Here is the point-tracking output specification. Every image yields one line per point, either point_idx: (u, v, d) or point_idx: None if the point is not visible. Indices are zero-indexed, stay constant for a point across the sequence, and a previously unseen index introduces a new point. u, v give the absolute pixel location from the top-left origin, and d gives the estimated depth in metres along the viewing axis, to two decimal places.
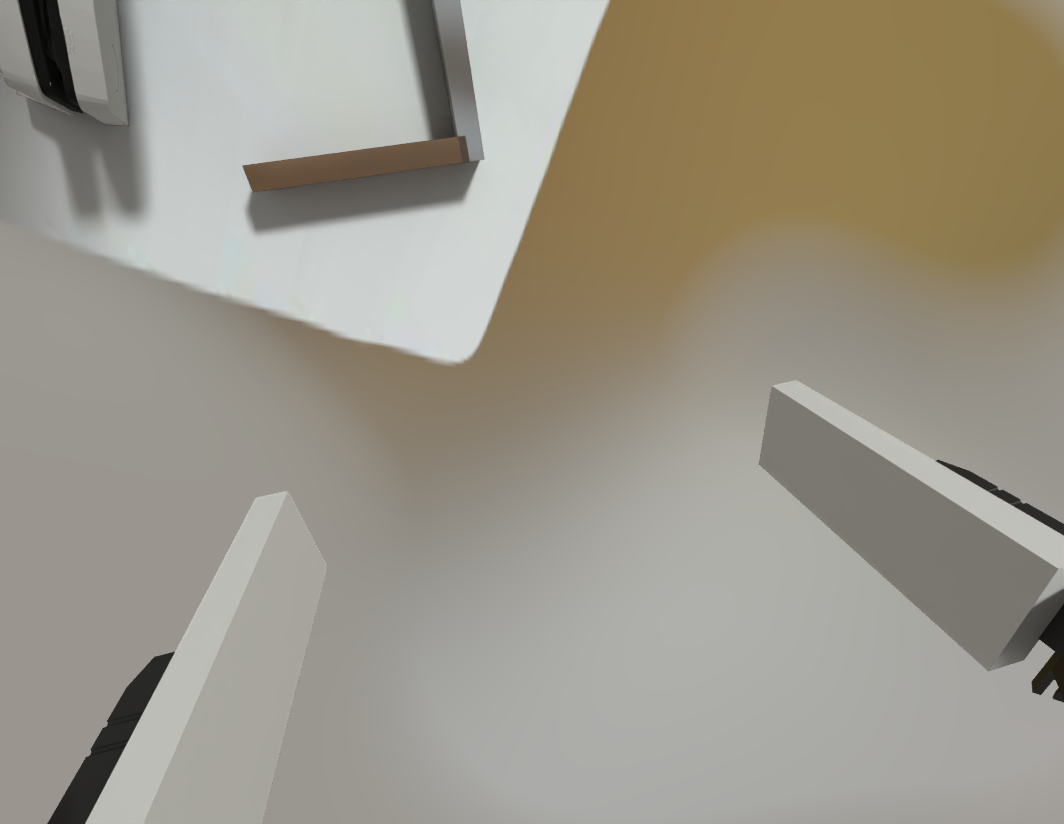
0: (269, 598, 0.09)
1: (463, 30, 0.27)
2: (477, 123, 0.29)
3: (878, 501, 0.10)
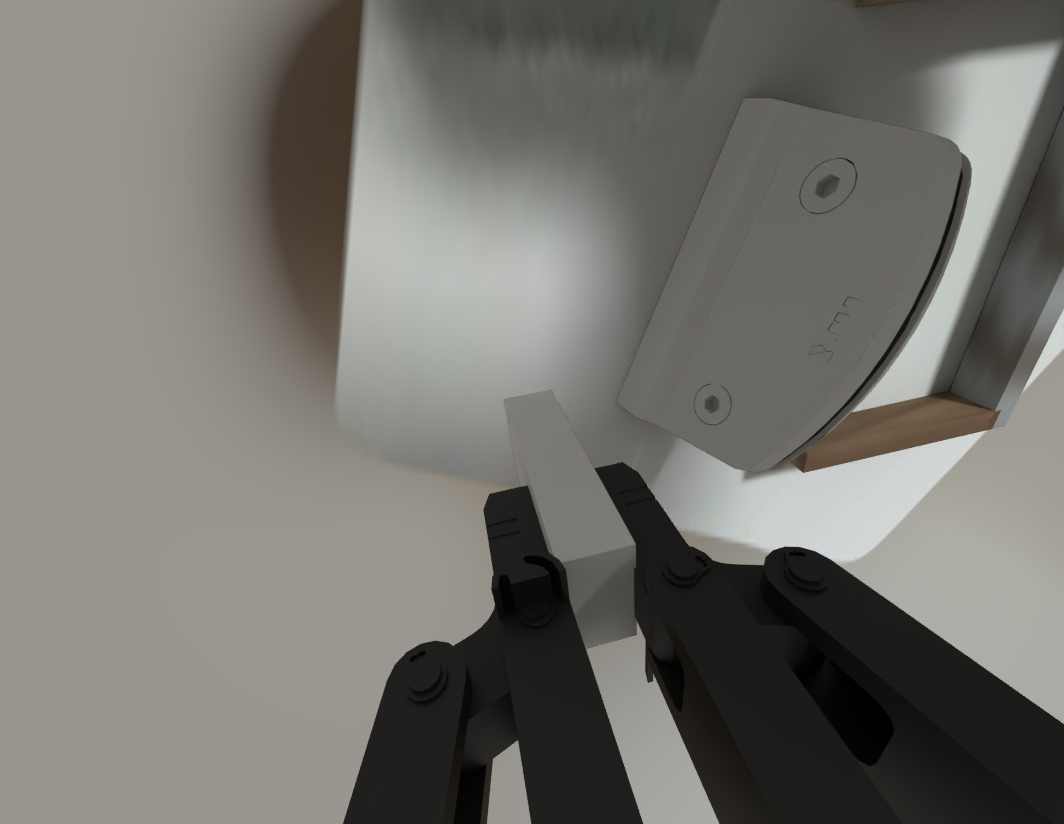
0: None
1: (1051, 331, 0.27)
2: (1017, 399, 0.29)
3: None
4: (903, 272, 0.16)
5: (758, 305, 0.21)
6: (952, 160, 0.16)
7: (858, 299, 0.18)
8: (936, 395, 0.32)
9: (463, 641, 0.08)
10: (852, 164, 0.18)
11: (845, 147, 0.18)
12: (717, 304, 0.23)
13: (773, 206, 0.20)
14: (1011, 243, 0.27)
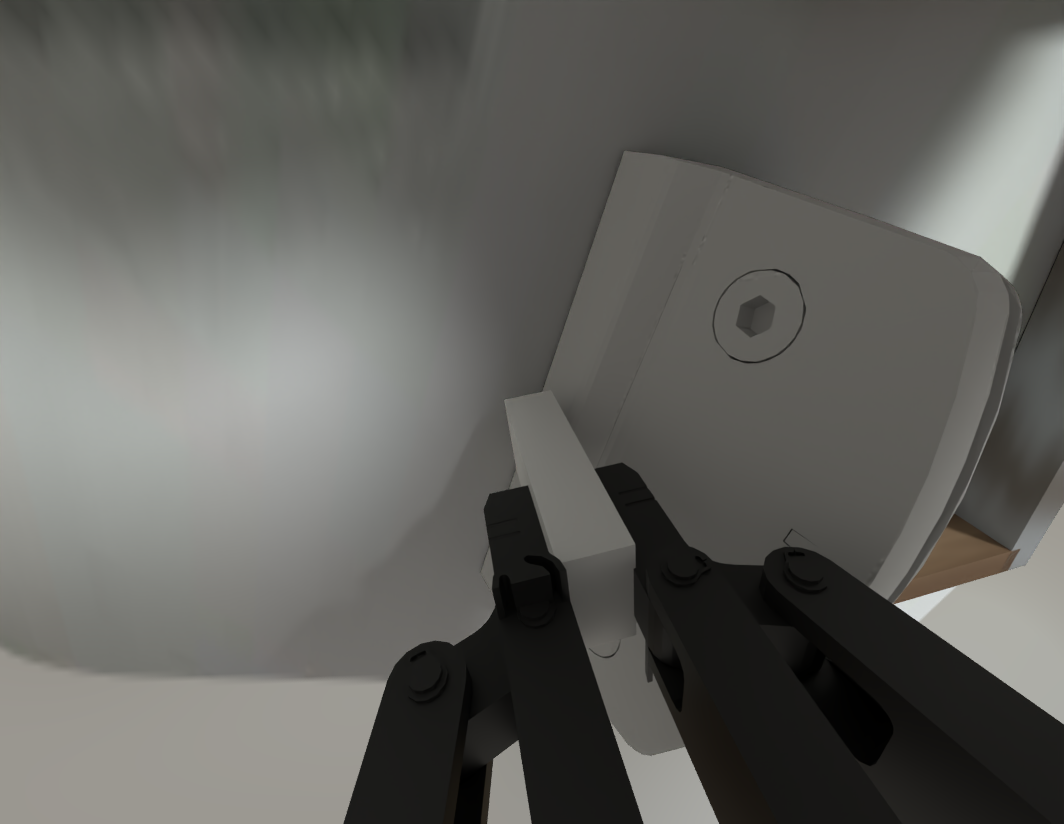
0: None
1: None
2: (1042, 534, 0.20)
3: None
4: (894, 519, 0.08)
5: (655, 490, 0.13)
6: (992, 308, 0.08)
7: (810, 541, 0.09)
8: None
9: (463, 641, 0.08)
10: (796, 283, 0.10)
11: (785, 252, 0.10)
12: None
13: (675, 332, 0.12)
14: (1031, 321, 0.18)
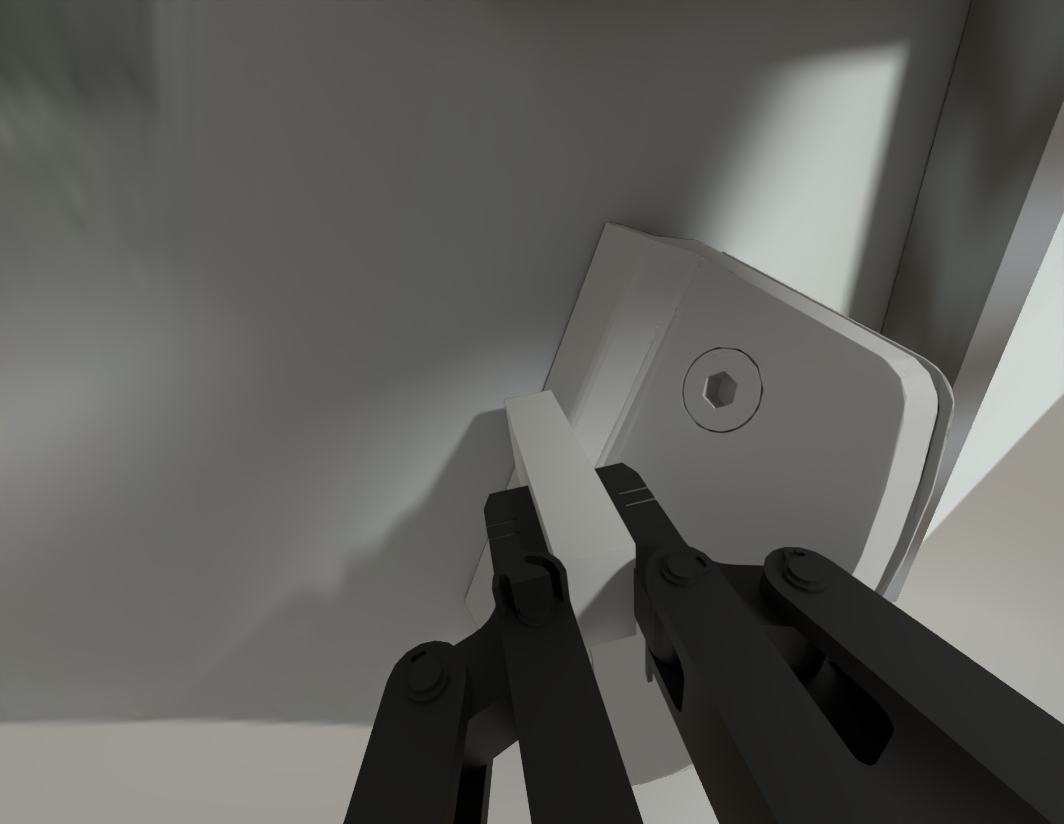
0: None
1: (943, 490, 0.17)
2: (907, 571, 0.20)
3: None
4: None
5: None
6: (920, 410, 0.08)
7: None
8: None
9: (463, 641, 0.08)
10: (756, 364, 0.11)
11: (746, 335, 0.11)
12: None
13: (649, 393, 0.13)
14: None
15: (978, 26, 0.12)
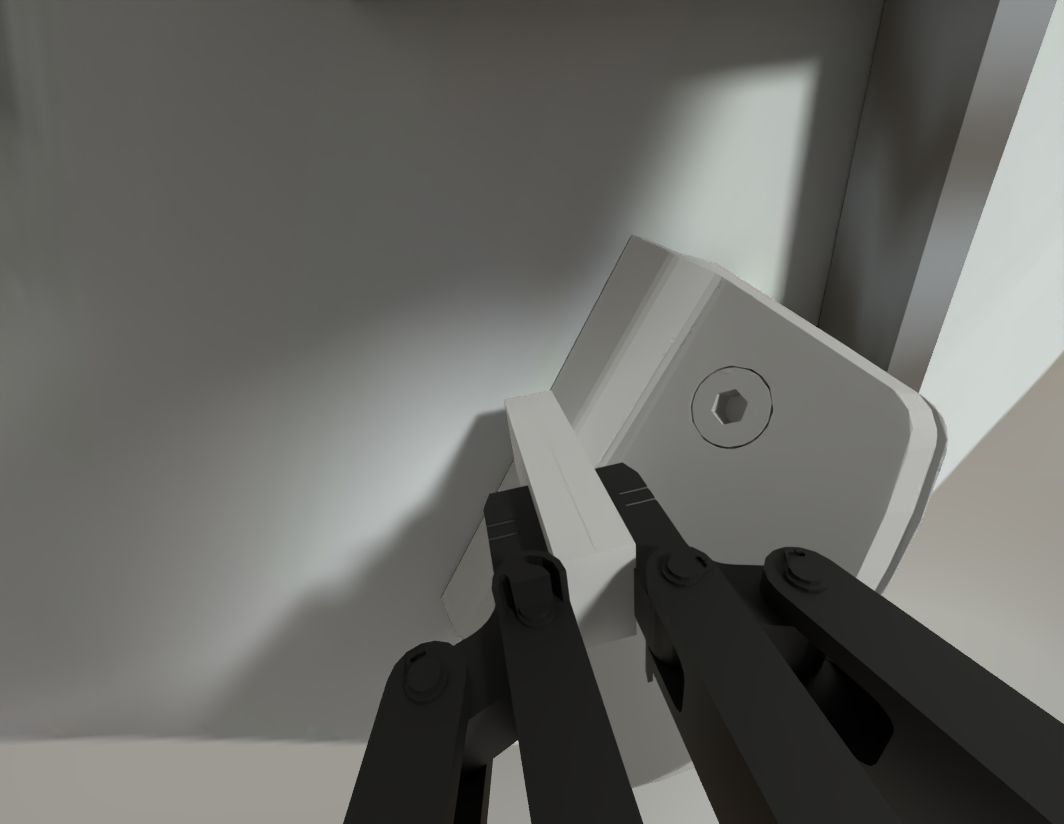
0: None
1: None
2: None
3: None
4: None
5: None
6: (922, 442, 0.09)
7: None
8: None
9: (463, 641, 0.08)
10: (768, 385, 0.11)
11: (761, 356, 0.11)
12: None
13: (656, 404, 0.13)
14: None
15: (887, 43, 0.12)
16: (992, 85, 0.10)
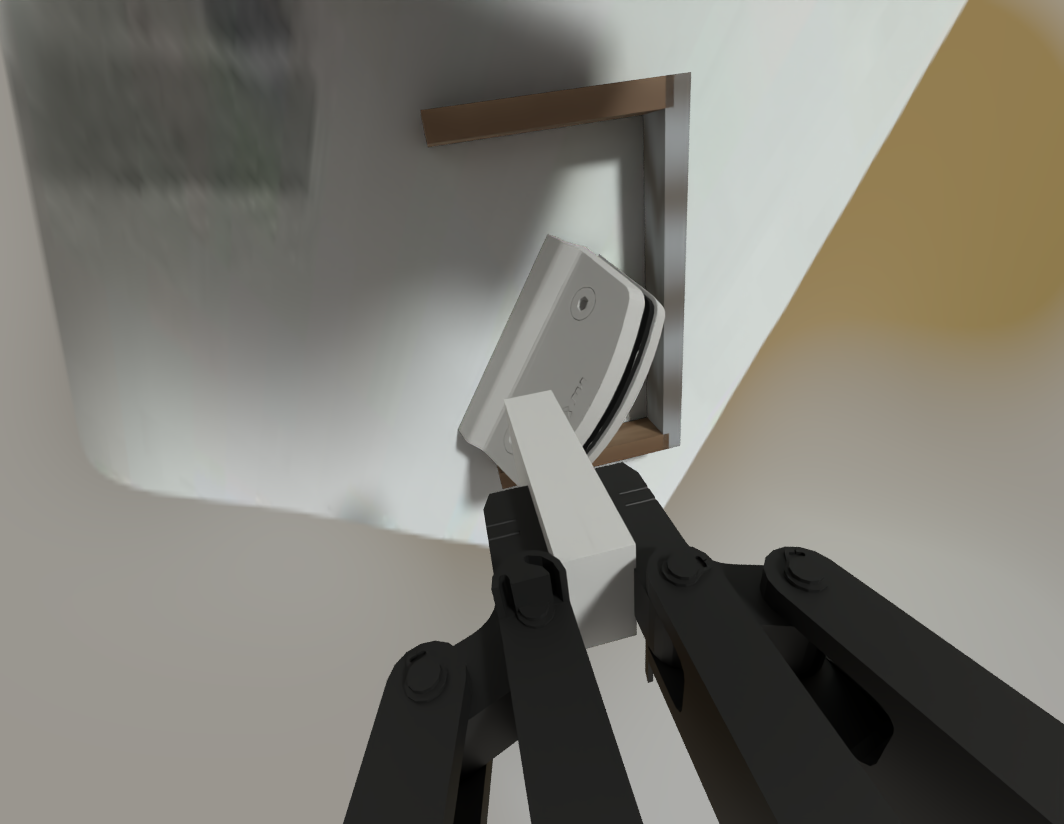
0: None
1: (681, 371, 0.33)
2: (679, 424, 0.36)
3: None
4: (606, 367, 0.26)
5: (543, 373, 0.30)
6: (635, 304, 0.25)
7: (586, 380, 0.27)
8: (634, 421, 0.38)
9: (463, 641, 0.08)
10: (595, 293, 0.28)
11: (592, 281, 0.28)
12: (524, 368, 0.32)
13: (558, 308, 0.30)
14: None
15: (646, 151, 0.28)
16: (673, 173, 0.27)
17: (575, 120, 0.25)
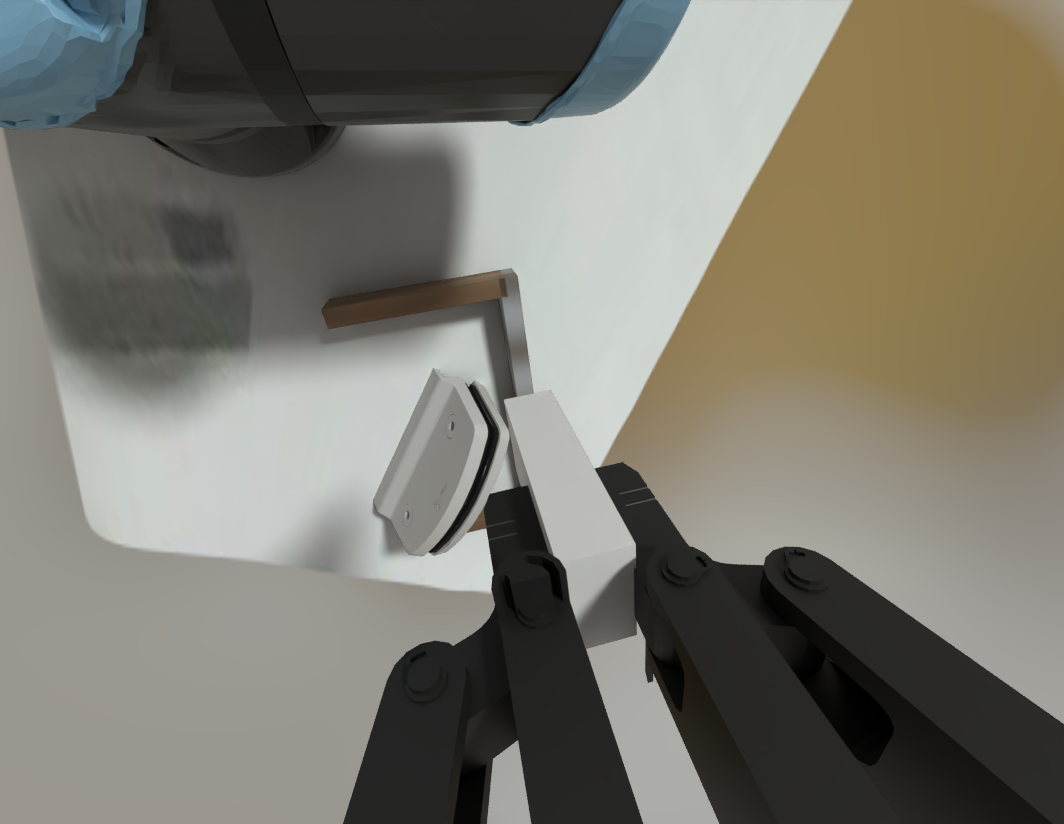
0: None
1: None
2: None
3: None
4: (458, 479, 0.36)
5: (427, 471, 0.41)
6: (479, 437, 0.36)
7: (448, 485, 0.38)
8: None
9: (463, 641, 0.08)
10: (459, 420, 0.38)
11: (458, 412, 0.38)
12: (417, 462, 0.42)
13: (439, 424, 0.40)
14: None
15: (501, 313, 0.39)
16: (514, 336, 0.37)
17: (435, 309, 0.35)
